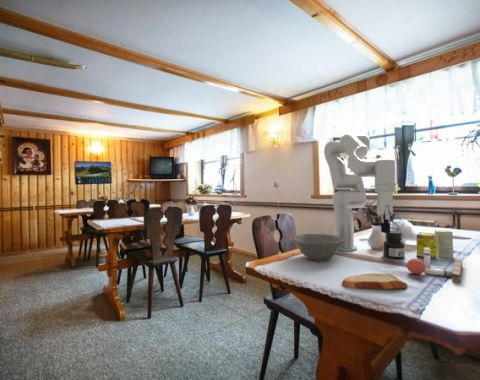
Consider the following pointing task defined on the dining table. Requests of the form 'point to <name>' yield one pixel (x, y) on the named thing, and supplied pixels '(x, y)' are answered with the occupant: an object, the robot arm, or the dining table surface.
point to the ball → (415, 266)
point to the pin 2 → (438, 272)
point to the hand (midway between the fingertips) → (385, 232)
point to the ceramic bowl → (318, 245)
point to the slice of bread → (374, 282)
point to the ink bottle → (394, 245)
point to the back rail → (457, 271)
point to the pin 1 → (427, 258)
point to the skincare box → (444, 243)
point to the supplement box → (426, 244)
